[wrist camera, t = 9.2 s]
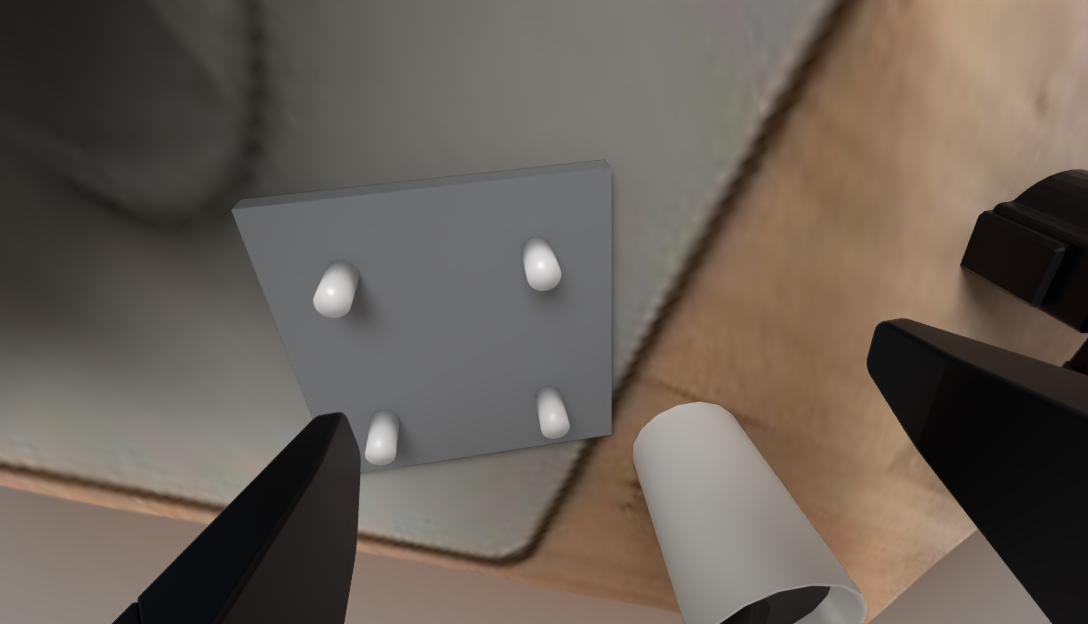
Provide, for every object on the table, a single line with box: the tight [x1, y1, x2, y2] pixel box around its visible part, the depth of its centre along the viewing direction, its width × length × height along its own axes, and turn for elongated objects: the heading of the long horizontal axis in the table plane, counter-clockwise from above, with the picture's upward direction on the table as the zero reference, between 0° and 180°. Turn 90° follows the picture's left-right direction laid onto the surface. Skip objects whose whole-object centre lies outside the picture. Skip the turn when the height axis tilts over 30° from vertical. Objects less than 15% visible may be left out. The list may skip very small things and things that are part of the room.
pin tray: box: [231, 160, 612, 473], centre depth 22 cm, size 13×13×3 cm
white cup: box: [633, 402, 868, 624], centre depth 25 cm, size 7×7×10 cm
